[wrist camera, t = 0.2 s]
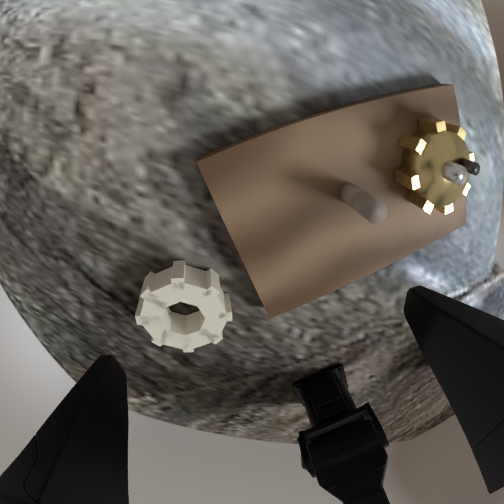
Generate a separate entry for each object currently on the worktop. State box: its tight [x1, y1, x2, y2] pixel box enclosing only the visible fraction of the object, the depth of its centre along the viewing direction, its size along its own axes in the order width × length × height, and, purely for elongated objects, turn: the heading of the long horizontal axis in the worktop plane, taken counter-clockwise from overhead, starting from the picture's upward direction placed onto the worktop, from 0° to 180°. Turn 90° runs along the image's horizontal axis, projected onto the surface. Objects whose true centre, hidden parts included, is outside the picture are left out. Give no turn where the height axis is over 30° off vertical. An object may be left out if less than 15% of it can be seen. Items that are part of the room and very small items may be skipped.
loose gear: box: [135, 260, 232, 352], centre depth 22 cm, size 7×7×2 cm
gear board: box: [196, 84, 466, 318], centre depth 19 cm, size 14×22×6 cm, turn 111°
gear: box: [394, 117, 480, 215], centre depth 18 cm, size 8×8×4 cm
